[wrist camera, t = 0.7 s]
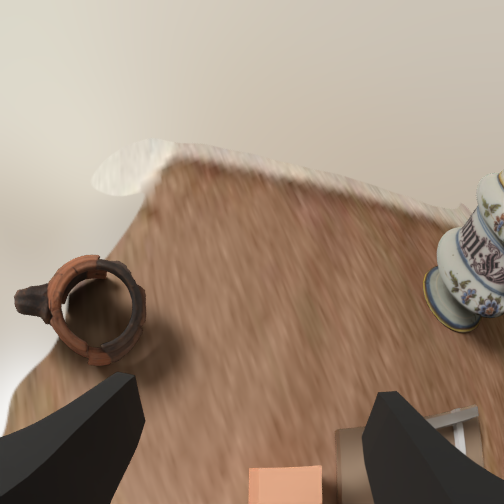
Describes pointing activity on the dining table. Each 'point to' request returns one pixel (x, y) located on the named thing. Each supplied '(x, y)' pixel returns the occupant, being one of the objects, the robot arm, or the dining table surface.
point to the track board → (352, 459)
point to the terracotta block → (285, 485)
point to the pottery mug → (55, 293)
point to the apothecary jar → (471, 264)
